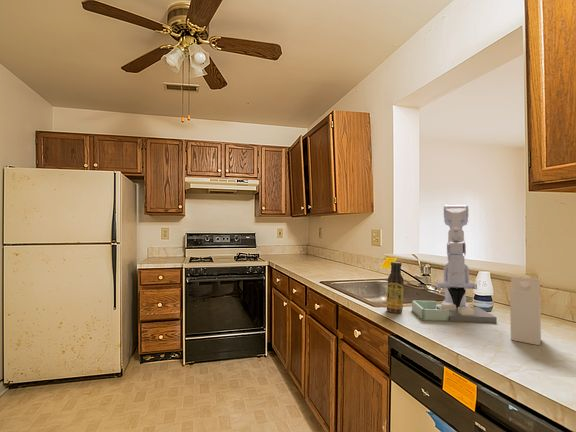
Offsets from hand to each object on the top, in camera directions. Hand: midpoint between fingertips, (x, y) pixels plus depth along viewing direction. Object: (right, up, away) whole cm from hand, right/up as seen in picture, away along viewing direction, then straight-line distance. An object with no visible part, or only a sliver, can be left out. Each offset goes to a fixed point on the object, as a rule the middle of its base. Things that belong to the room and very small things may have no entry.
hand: (456, 307), depth 128 cm
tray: (-11, -3, -2) cm, 12 cm away
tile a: (-3, -1, 0) cm, 3 cm away
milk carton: (+7, -3, -28) cm, 29 cm away
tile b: (0, -1, -7) cm, 7 cm away
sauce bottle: (-23, -3, +3) cm, 23 cm away
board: (+2, -3, -3) cm, 4 cm away
